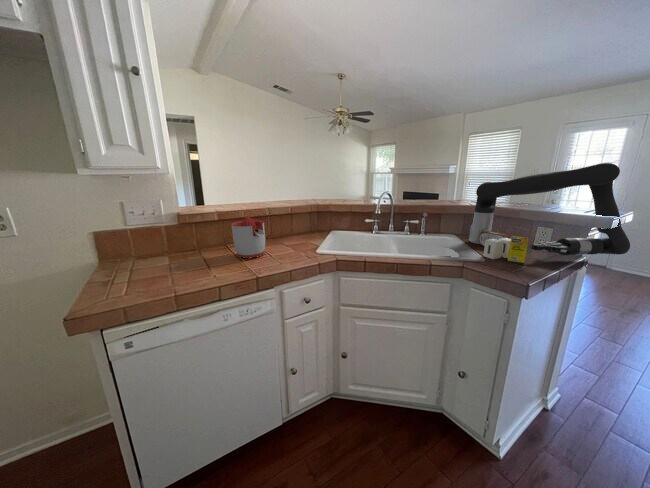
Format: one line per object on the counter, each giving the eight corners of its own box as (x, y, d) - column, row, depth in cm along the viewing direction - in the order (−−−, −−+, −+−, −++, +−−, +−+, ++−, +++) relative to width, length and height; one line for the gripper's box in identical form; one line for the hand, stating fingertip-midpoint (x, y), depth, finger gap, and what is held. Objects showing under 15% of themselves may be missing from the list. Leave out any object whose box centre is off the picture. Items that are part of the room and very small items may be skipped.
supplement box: (524, 264, 109) (529, 240, 107) (507, 262, 113) (511, 238, 110) (523, 260, 114) (528, 237, 111) (507, 258, 117) (511, 235, 115)
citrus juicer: (250, 263, 116) (245, 220, 111) (228, 257, 127) (223, 217, 121) (276, 255, 128) (273, 215, 123) (254, 249, 139) (250, 212, 133)
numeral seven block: (495, 254, 123) (498, 238, 121) (503, 253, 125) (506, 237, 122) (505, 258, 118) (508, 241, 116) (513, 256, 120) (516, 240, 118)
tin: (510, 251, 129) (513, 234, 126) (507, 252, 127) (510, 235, 125) (479, 244, 141) (481, 229, 139) (476, 245, 139) (478, 230, 137)
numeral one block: (482, 256, 122) (485, 239, 119) (490, 254, 123) (493, 238, 121) (492, 259, 117) (495, 242, 115) (500, 257, 119) (503, 241, 117)
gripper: (561, 234, 117) (523, 235, 117) (590, 242, 104) (547, 242, 104) (558, 250, 119) (520, 251, 119) (585, 259, 106) (543, 260, 106)
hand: (533, 247), depth 112 cm, fingers closed
